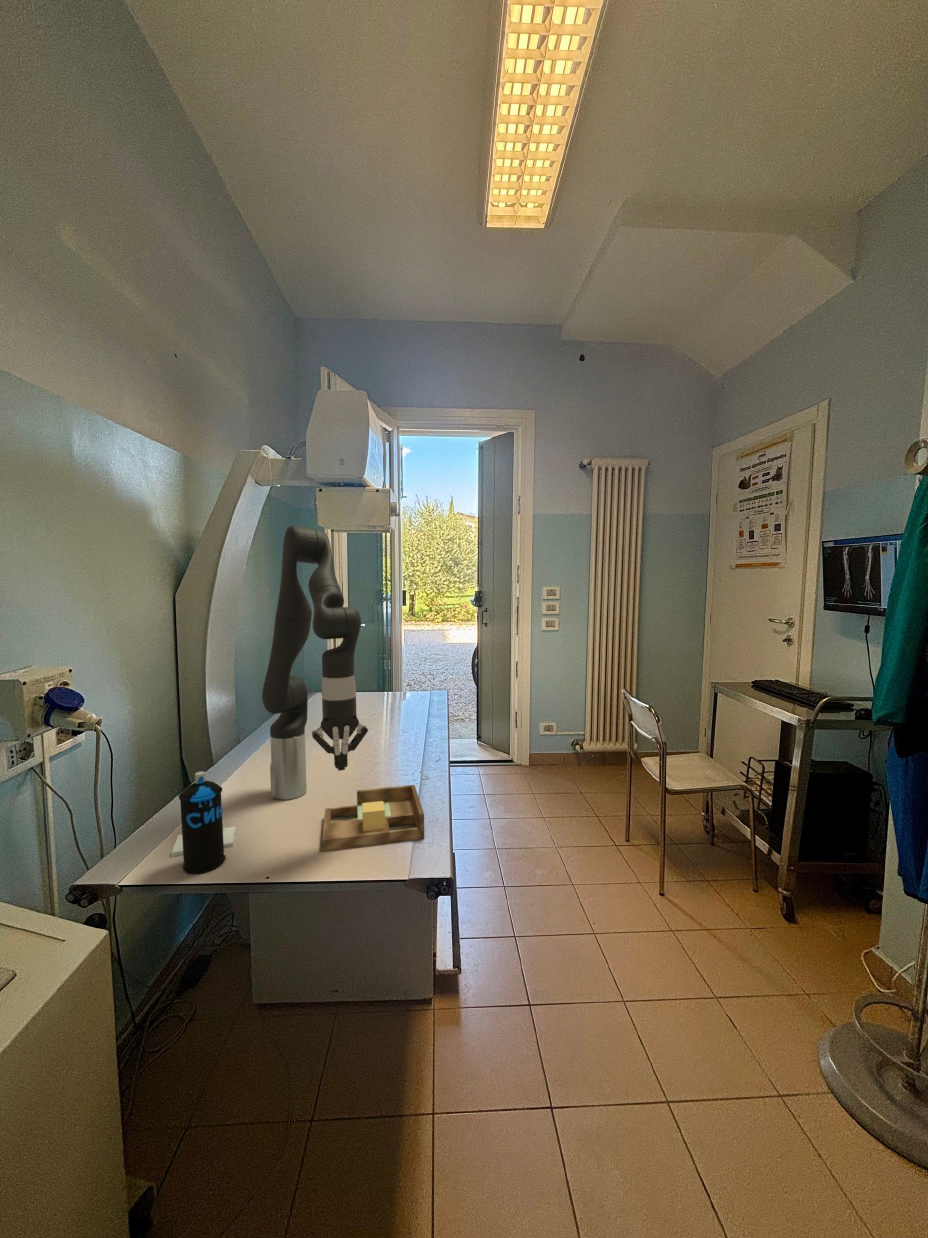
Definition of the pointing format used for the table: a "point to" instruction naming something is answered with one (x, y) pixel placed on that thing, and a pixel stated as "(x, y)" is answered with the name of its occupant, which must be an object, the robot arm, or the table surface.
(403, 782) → the table surface
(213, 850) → the aerosol can
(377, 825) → the block
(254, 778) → the table surface
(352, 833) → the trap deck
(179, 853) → the external hard drive
